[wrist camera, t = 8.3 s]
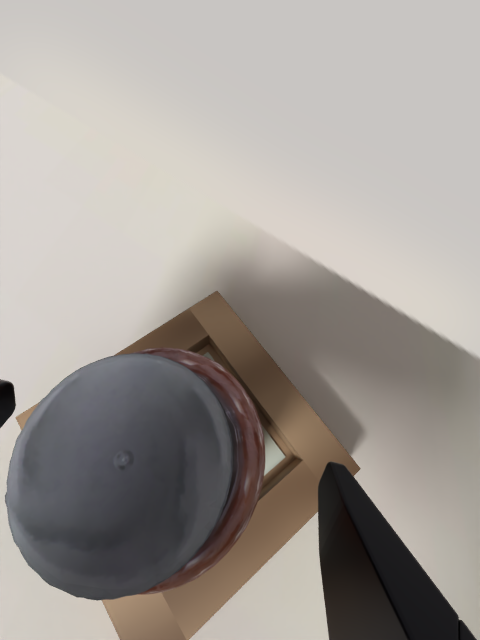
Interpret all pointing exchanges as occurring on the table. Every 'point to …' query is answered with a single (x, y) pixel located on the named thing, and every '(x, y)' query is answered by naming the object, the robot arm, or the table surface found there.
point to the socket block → (279, 476)
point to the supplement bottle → (135, 474)
